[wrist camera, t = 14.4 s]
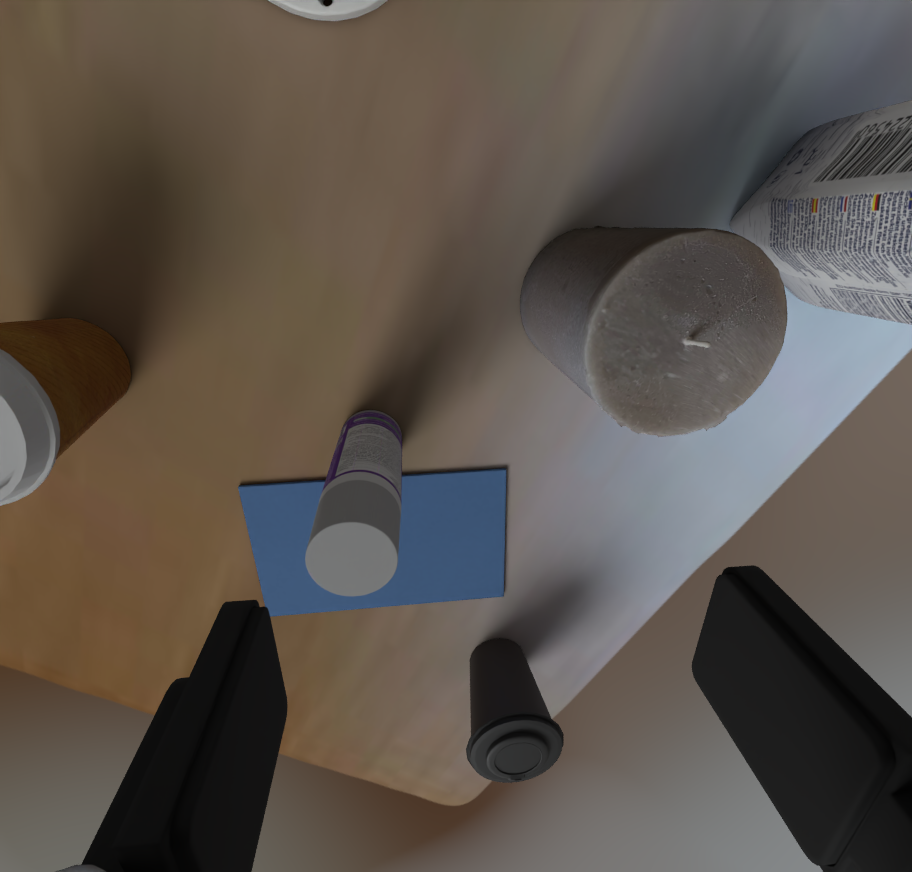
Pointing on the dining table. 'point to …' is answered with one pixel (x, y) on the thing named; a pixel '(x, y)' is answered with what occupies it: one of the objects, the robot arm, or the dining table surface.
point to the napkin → (420, 542)
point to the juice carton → (842, 215)
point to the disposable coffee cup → (52, 394)
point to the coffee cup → (508, 716)
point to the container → (359, 509)
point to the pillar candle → (657, 321)
